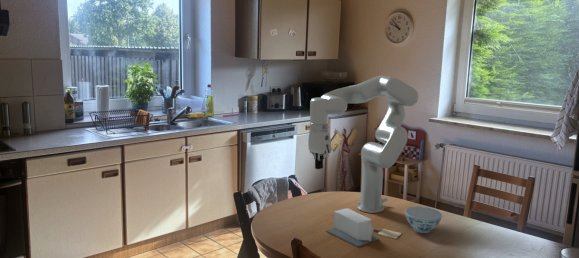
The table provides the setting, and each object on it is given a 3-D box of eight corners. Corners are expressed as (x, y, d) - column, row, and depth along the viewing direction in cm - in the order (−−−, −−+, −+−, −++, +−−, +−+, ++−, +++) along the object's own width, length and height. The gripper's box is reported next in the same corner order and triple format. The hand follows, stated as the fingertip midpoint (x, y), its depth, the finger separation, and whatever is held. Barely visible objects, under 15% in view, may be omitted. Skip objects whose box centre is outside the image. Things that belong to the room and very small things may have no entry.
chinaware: (443, 227, 211) (445, 210, 209) (436, 240, 198) (437, 222, 196) (409, 220, 218) (410, 204, 216) (399, 232, 205) (400, 214, 203)
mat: (347, 225, 211) (347, 224, 211) (378, 239, 197) (379, 238, 197) (326, 231, 203) (326, 230, 203) (358, 247, 190) (358, 245, 189)
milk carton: (333, 226, 207) (364, 243, 192) (334, 210, 206) (365, 226, 190) (346, 223, 211) (377, 239, 196) (347, 207, 210) (378, 222, 194)
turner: (362, 224, 211) (363, 222, 211) (401, 234, 203) (401, 232, 203) (357, 229, 206) (357, 227, 206) (396, 239, 198) (396, 237, 198)
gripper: (337, 128, 205) (337, 170, 209) (314, 123, 216) (314, 163, 220) (324, 131, 200) (324, 174, 204) (301, 125, 212) (301, 166, 216)
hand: (319, 168), depth 212 cm, fingers closed
